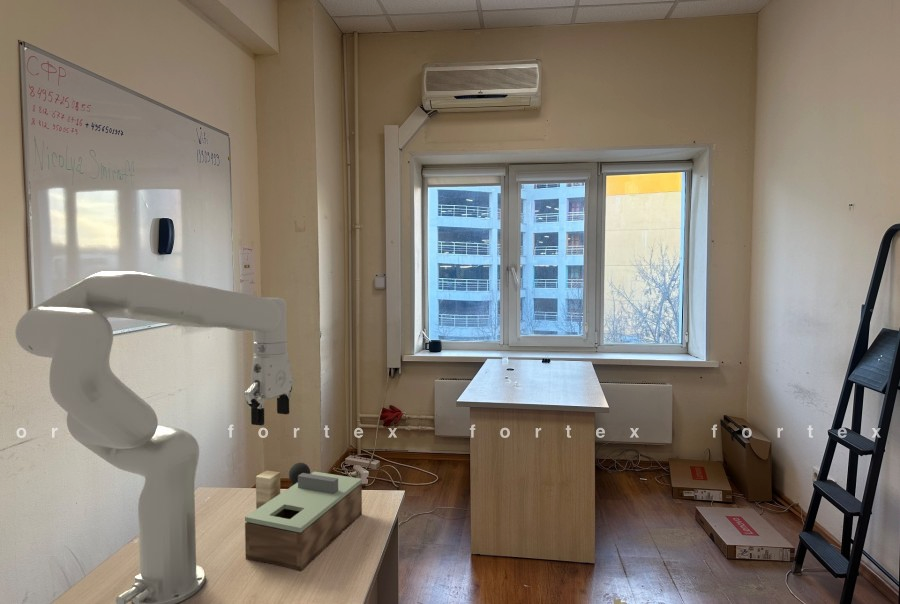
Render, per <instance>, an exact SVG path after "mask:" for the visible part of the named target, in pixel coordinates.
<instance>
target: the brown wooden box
mask: <svg viewBox="0 0 900 604" xmlns="http://www.w3.org/2000/svg"><path fill="white" fill-rule="evenodd" d="M362 484H363V483H361V484H359V485H358V486H357V487H356V488H355V489H353V490H352V491H351V492H350V493H348V494H347V495H346V496H345V497H344V498H342V499H341V500H340V501H339V502H338V503H336V504H335V505H334V506H333V507H331V508H330V509H329V510H328V511H327V512H325V513H324V514H323V515H322V516H320V517H319V518H318V519H317V520H316V521H314V522H313V523H312V524H311V525H309V526H308V527H307V528H306V529H305V530H303V531H302V532H301V533H300V532H295V531H290V530H285V529H280V528H275V527H270V526H265V525H260V524H255V523H250V522H244V534H245V535H244V536H245V537H244V539H245V546H244V547H245V560H249V561H254V562H258V563H263V564H267V565H271V566H275V567H280V568H283V569H288V570H291V571H297V572H302V571H304V570H305V569H306V567H308V565H310V564H311V563H312V562H313V561H314V560H316V558H317V557H319V555H320V554H321V553H323V552H324V551H325V549H327V548H328V547H329V546H330V545H331V544H332V543H333V542H334V541H335V540H337V538H338V537H339V536H340V535H341V534H343V533H342V532H343V531H344V530H345V529H346V530H347V529H348V528H349V527H351V526H352V524H353V523H355V521H356V520H358V519H359V517H360V516H362V514H363V506H362V505H363V500H362V499H363V485H362ZM299 512H300V511H295V510H289V509H283V510H282V511H280V512H279V513H278V514H276V515H275V517H281V518H286V519H291V518H292V517H294V516H295V515H296V514H298V513H299ZM346 530H345V531H346Z"/></svg>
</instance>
